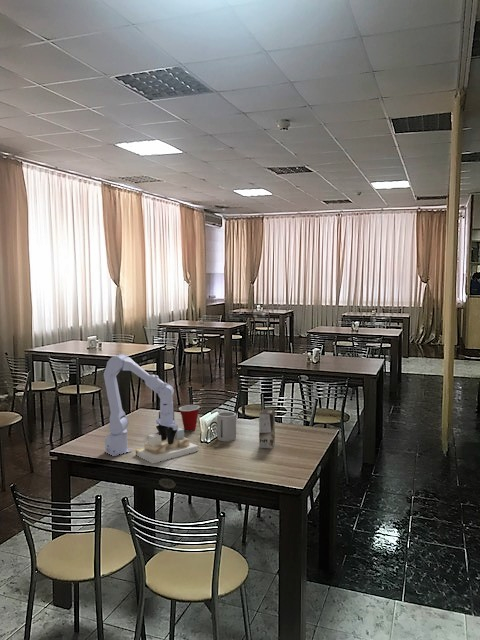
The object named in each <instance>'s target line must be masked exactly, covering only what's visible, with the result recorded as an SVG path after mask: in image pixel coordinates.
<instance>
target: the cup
mask: <svg viewBox="0 0 480 640" xmlns="http://www.w3.org/2000/svg"><path fill="white" fill-rule="evenodd" d="M216 415H217V416H216V420H217V421H216V422H217V428H216V429H217V434H216V435H217V440H218V441H222V442H232V441H235V440H236V439H237V413H236V412H233V411H221V412H218V413H217V414H216Z"/></svg>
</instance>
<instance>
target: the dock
mask: <svg viewBox="0 0 480 640" xmlns="http://www.w3.org/2000/svg"><path fill="white" fill-rule="evenodd" d="M189 444H190V446H187V447H183V448H179V447H176V448H173V449H169V450H165V452H164V453H161V454H157V455H155V454H153V453H151V452H148V451H146V450H144V447H142V448H138V449H135V456H136V455H137V456H136V457H138V456H139V457H138V458H140V457H141V458H140V459H142V458H143V460H144V459H145V460H144V461H146V460H147V461H146V462H148V461H149V463H150V464H152V463H154V464H157V463H160V461H161V462H164V461H167V459H168V460H171V458H172V459H174V458H178V457H181V456H186V455H189V453H190V454H192V453H197V452H199V445H197V444H195V443H192V442H190V441H189ZM196 451H197V452H196Z"/></svg>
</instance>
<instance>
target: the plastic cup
mask: <svg viewBox="0 0 480 640" xmlns="http://www.w3.org/2000/svg"><path fill="white" fill-rule="evenodd" d="M178 410H179V412H180V415H181V420H182V425H183V429H185V430H194V431H195V430H196V429H197V428H196V427H197V423H198V417H199V410H200V405H199V404H186V405H183V406H180V407H178ZM185 430H184V431H185Z"/></svg>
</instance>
